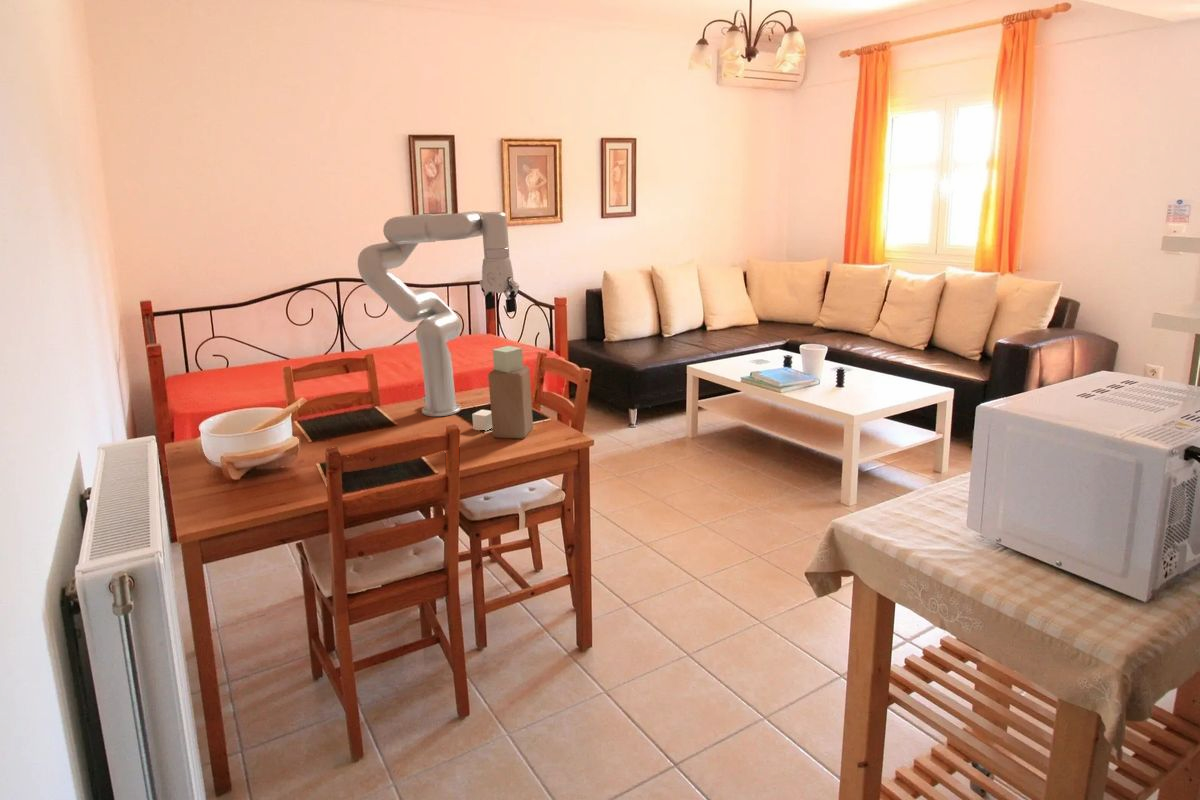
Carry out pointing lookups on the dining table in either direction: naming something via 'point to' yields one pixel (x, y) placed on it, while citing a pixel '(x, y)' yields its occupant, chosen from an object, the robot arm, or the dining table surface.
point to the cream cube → (482, 420)
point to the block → (511, 403)
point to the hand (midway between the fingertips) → (500, 310)
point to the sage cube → (508, 359)
